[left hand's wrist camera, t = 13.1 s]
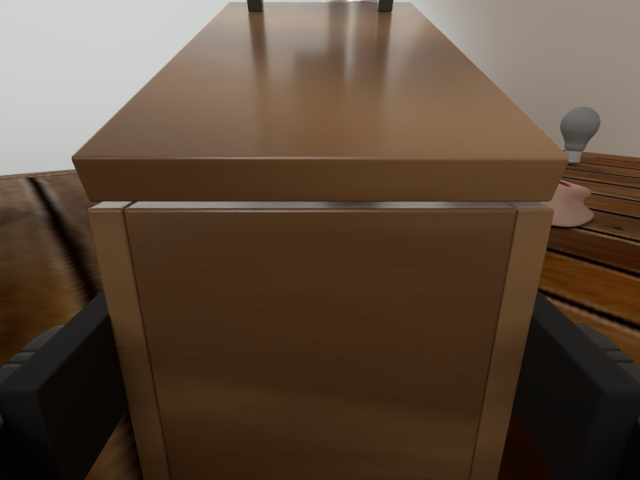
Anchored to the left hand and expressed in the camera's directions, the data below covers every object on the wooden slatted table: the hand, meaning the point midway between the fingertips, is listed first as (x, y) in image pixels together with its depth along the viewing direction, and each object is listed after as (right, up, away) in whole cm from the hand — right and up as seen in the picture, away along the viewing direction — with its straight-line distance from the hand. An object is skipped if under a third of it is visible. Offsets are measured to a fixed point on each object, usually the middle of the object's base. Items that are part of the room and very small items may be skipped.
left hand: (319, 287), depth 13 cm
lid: (0, +8, +2) cm, 8 cm away
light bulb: (+47, +16, +60) cm, 78 cm away
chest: (0, -5, +6) cm, 8 cm away
